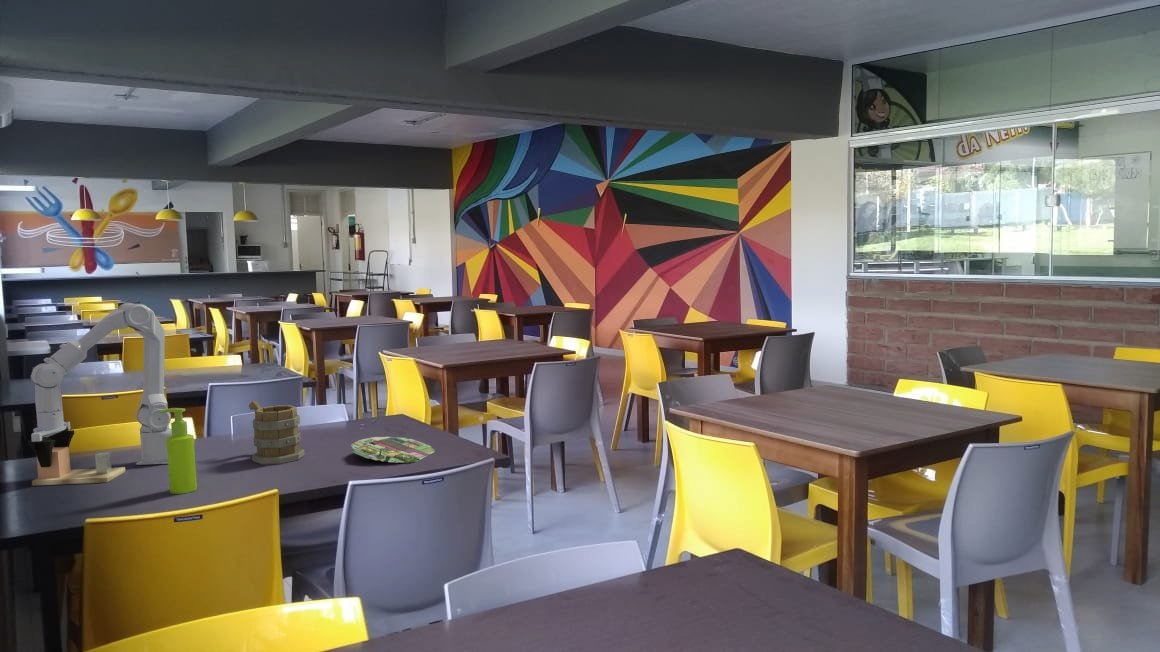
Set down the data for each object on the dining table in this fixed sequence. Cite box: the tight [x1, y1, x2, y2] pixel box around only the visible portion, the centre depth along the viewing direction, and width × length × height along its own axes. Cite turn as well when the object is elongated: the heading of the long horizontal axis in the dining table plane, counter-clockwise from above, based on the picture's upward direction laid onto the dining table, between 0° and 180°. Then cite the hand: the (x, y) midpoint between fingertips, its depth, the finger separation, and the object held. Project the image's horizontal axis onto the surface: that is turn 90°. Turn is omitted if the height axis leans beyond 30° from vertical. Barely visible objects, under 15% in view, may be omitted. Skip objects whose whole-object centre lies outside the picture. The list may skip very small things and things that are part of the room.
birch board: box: [31, 466, 126, 487], centre depth 213 cm, size 18×10×1 cm, turn 95°
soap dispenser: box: [160, 407, 198, 495], centre depth 199 cm, size 6×7×20 cm
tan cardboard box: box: [35, 446, 72, 478], centre depth 213 cm, size 5×5×7 cm
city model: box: [350, 436, 436, 465], centre depth 230 cm, size 25×24×6 cm
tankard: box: [248, 400, 306, 465], centre depth 232 cm, size 20×13×15 cm, turn 47°
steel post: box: [94, 451, 113, 474], centre depth 214 cm, size 3×3×5 cm
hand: (54, 463), depth 213 cm, fingers open, 7 cm apart
